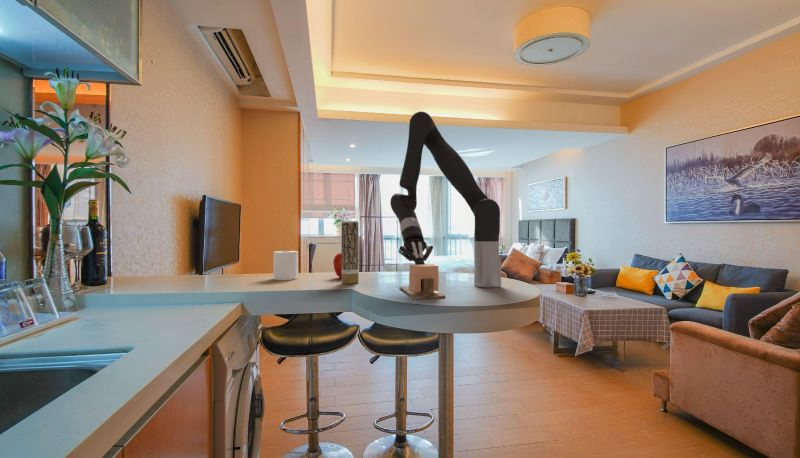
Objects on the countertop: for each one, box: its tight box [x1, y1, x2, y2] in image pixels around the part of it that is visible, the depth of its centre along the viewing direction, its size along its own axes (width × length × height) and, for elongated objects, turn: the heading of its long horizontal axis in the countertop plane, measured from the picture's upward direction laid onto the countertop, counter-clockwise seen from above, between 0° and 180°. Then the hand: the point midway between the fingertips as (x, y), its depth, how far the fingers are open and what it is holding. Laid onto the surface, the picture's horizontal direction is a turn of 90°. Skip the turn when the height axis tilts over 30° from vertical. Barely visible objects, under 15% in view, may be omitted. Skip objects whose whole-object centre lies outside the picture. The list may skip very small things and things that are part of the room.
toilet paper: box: [272, 250, 299, 281], centre depth 155 cm, size 10×10×12 cm
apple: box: [332, 252, 342, 279], centre depth 157 cm, size 9×9×12 cm
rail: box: [399, 272, 446, 300], centre depth 120 cm, size 10×20×6 cm, turn 14°
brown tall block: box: [341, 220, 360, 285], centre depth 142 cm, size 7×7×25 cm
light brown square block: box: [409, 263, 439, 292], centre depth 116 cm, size 8×6×8 cm
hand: (421, 268), depth 119 cm, fingers closed
